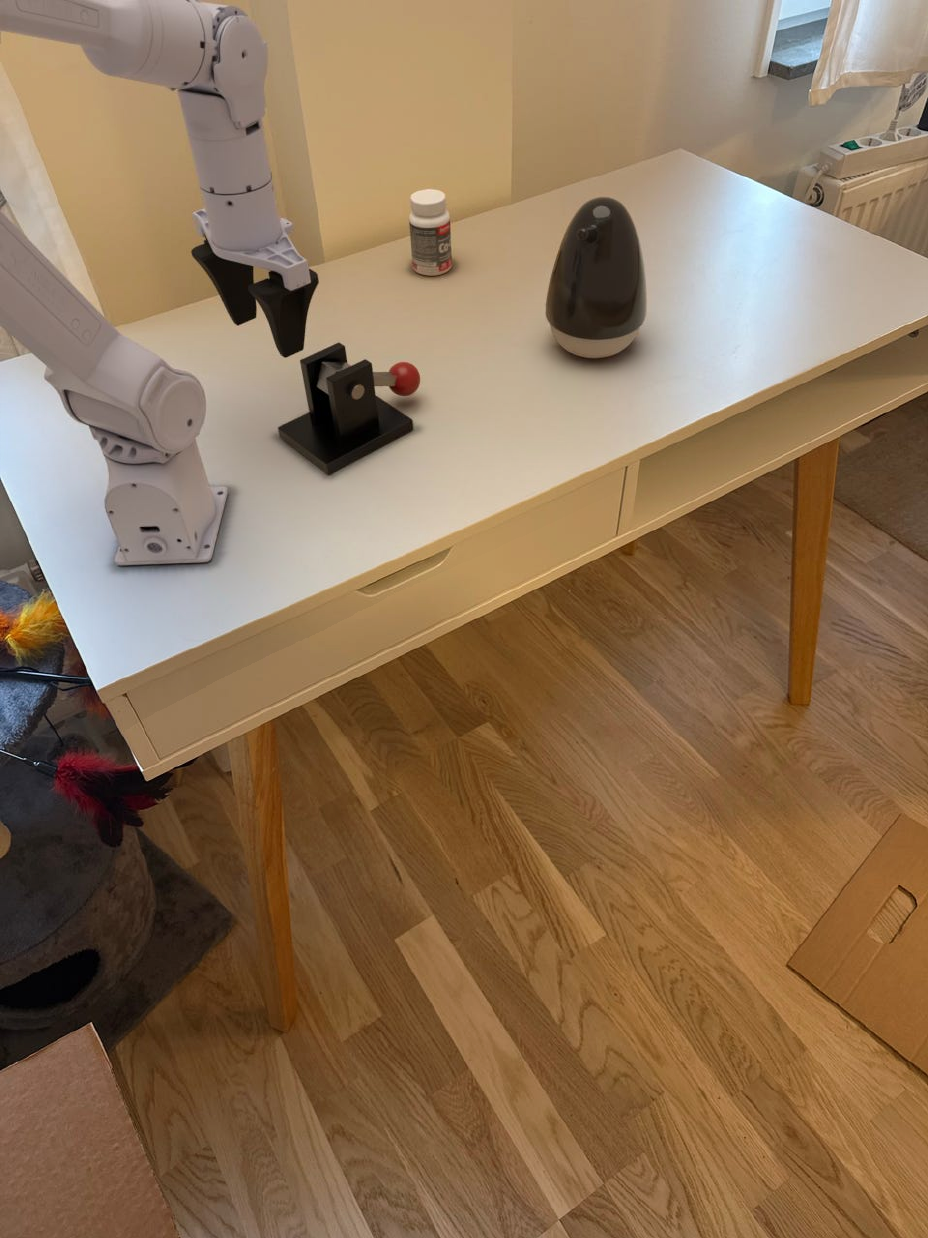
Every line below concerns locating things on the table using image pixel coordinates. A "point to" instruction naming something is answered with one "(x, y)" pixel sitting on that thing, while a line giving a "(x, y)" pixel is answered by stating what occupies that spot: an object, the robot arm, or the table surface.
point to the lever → (378, 377)
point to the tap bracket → (342, 414)
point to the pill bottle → (430, 233)
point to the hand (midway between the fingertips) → (268, 336)
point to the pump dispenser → (598, 282)
